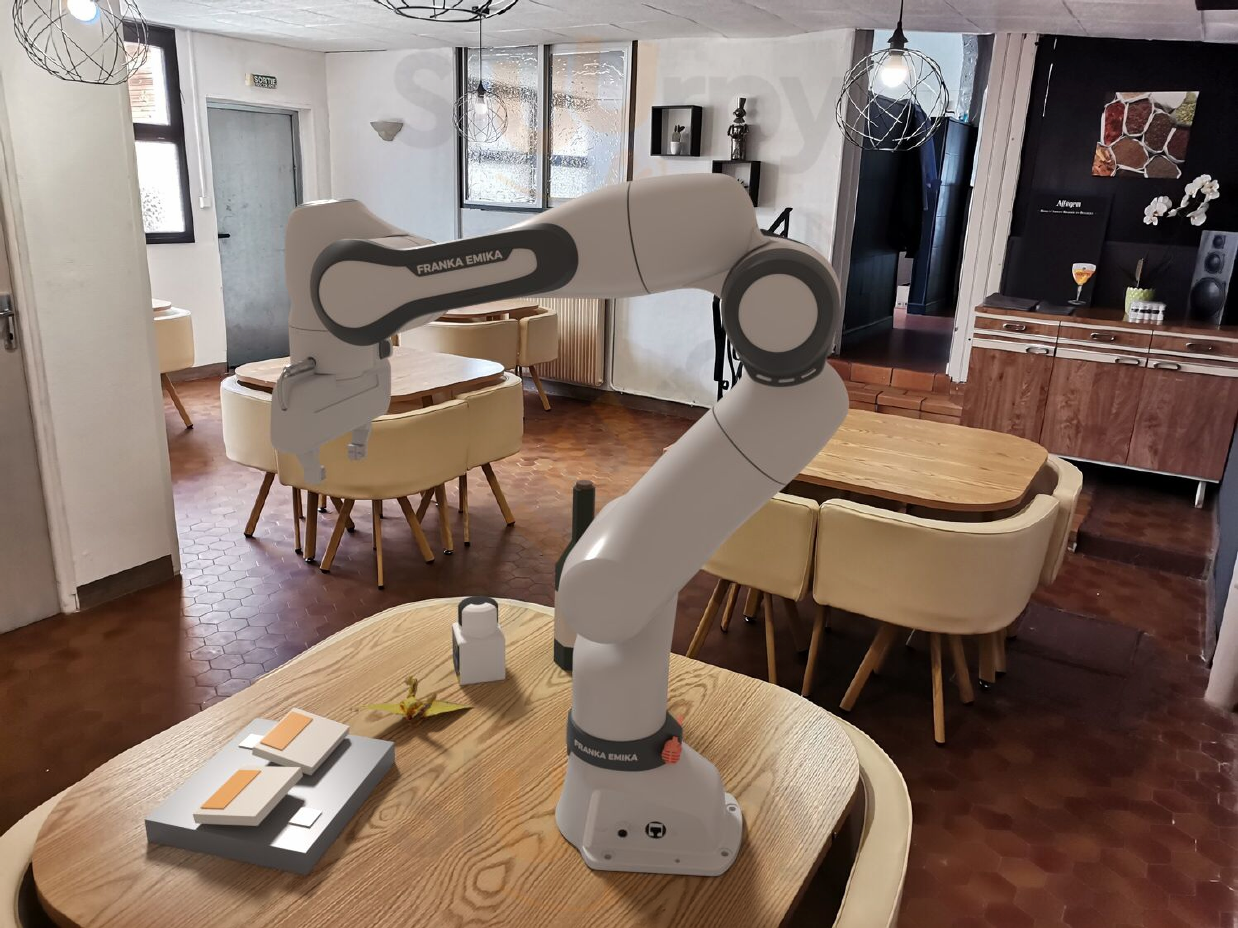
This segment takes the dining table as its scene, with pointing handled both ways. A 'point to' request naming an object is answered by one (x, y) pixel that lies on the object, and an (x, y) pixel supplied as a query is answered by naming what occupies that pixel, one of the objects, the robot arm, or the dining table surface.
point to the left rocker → (248, 795)
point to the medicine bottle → (478, 642)
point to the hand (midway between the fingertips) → (337, 470)
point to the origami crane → (415, 705)
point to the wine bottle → (580, 523)
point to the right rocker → (301, 740)
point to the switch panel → (294, 823)
